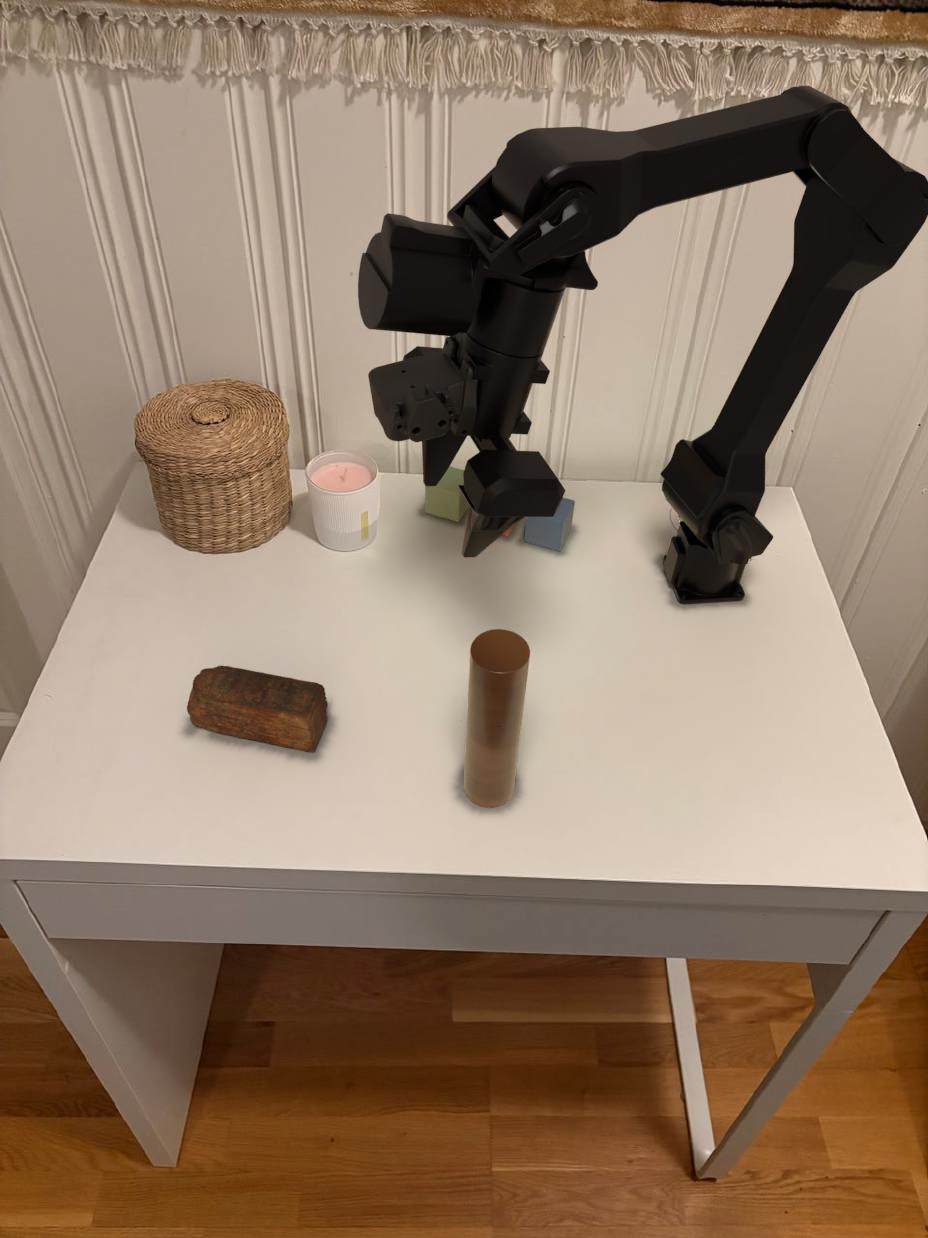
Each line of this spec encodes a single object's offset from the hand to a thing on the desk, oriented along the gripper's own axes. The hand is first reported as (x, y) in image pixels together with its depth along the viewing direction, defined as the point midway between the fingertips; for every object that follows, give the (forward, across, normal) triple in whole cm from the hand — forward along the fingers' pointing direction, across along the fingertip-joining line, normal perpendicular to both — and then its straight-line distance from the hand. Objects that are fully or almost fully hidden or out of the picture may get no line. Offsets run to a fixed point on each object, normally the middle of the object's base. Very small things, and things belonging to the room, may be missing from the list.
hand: (448, 519), depth 73 cm
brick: (+19, +4, -13) cm, 23 cm away
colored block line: (+11, -15, +14) cm, 23 cm away
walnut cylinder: (+15, +16, +2) cm, 21 cm away
